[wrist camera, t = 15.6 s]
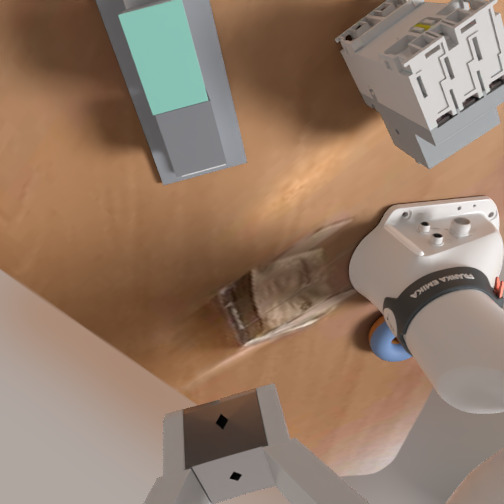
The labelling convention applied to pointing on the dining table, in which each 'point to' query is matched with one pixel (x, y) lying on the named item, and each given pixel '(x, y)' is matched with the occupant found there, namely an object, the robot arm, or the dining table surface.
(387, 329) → the doughnut
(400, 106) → the circuit breaker
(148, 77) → the block
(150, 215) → the dining table surface
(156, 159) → the rail assembly
